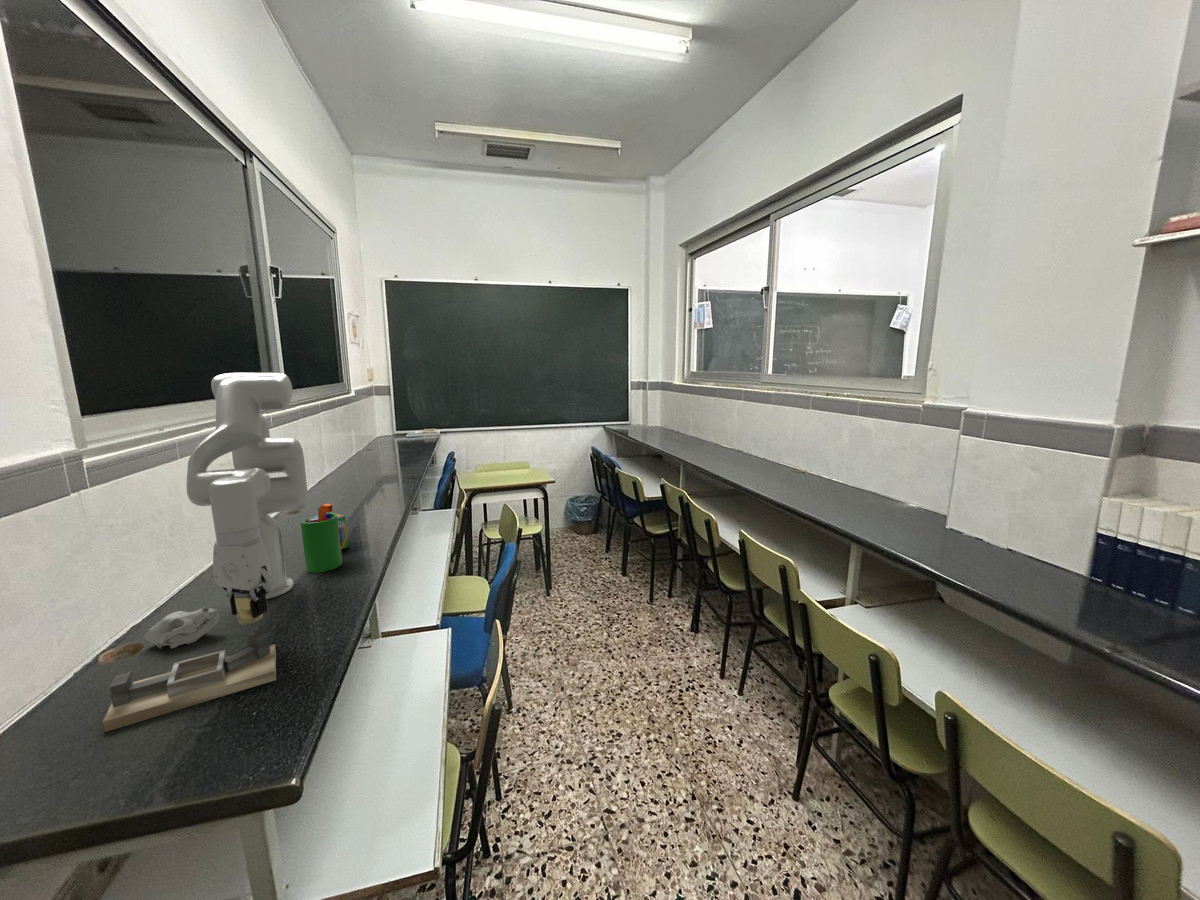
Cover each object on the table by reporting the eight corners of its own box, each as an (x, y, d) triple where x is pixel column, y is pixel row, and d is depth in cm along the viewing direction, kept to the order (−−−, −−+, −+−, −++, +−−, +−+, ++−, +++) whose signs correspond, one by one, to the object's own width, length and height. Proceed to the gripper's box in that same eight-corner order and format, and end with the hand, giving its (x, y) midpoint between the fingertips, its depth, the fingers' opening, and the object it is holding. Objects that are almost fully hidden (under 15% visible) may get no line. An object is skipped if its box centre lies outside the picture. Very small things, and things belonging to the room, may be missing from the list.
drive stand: (121, 695, 88) (116, 666, 87) (275, 652, 101) (272, 627, 100) (104, 732, 79) (98, 700, 78) (275, 680, 93) (272, 652, 92)
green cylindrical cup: (319, 559, 150) (313, 499, 147) (348, 559, 151) (342, 499, 148) (302, 573, 140) (295, 509, 137) (333, 572, 141) (326, 509, 138)
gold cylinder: (238, 616, 103) (234, 588, 102) (263, 611, 106) (259, 582, 104) (237, 626, 100) (233, 597, 98) (262, 620, 102) (258, 591, 101)
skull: (151, 627, 106) (195, 587, 108) (188, 649, 109) (230, 609, 111) (132, 644, 99) (179, 600, 101) (171, 667, 102) (217, 623, 104)
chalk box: (349, 547, 160) (345, 506, 158) (322, 556, 153) (317, 513, 150) (335, 542, 165) (331, 502, 163) (307, 550, 158) (303, 508, 155)
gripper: (187, 537, 96) (200, 617, 100) (257, 546, 94) (268, 627, 97) (222, 524, 104) (233, 599, 107) (288, 532, 101) (297, 608, 105)
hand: (249, 612), depth 102 cm, fingers closed on gold cylinder, 4 cm apart
